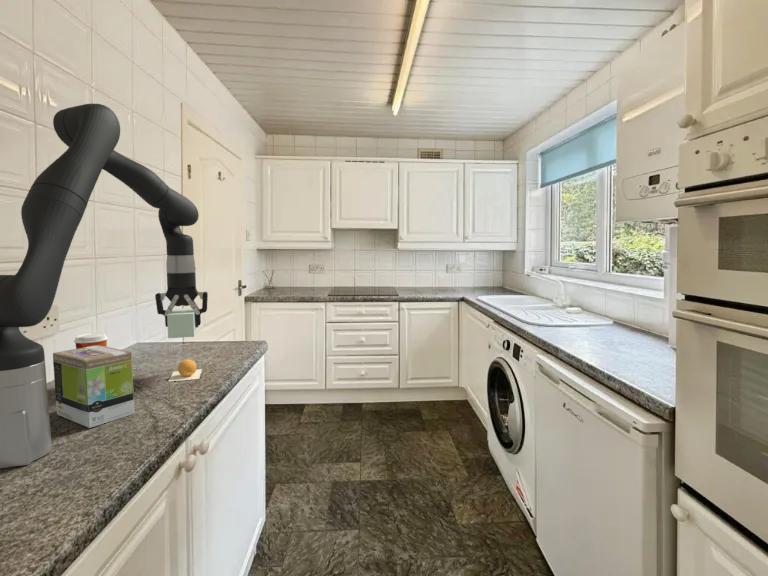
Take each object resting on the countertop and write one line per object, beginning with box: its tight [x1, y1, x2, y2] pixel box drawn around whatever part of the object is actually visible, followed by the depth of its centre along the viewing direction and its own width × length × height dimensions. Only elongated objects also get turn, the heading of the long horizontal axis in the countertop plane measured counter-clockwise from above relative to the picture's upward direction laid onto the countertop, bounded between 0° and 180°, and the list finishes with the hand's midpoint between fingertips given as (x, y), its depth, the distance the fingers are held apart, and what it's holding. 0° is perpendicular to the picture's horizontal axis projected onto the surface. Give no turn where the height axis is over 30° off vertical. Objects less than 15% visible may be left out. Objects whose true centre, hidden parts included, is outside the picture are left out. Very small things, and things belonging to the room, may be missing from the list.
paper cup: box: [73, 332, 109, 349], centre depth 116 cm, size 8×8×14 cm
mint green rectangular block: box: [167, 307, 199, 339], centre depth 123 cm, size 12×7×7 cm, turn 19°
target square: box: [168, 368, 203, 383], centre depth 125 cm, size 10×8×1 cm
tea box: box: [52, 345, 135, 429], centre depth 95 cm, size 15×10×15 cm
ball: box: [177, 358, 197, 377], centre depth 124 cm, size 5×5×5 cm
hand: (183, 327), depth 123 cm, fingers closed on mint green rectangular block, 6 cm apart
